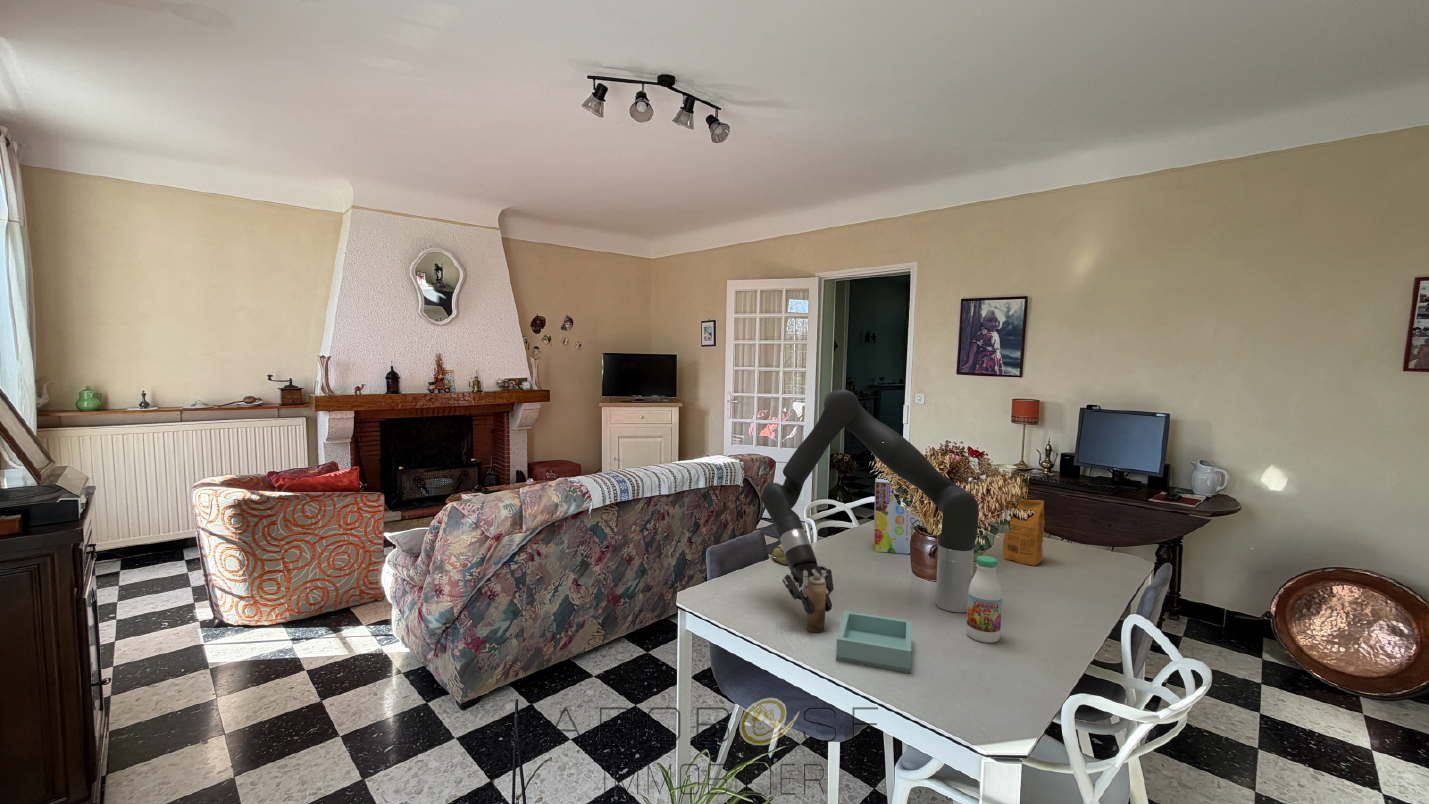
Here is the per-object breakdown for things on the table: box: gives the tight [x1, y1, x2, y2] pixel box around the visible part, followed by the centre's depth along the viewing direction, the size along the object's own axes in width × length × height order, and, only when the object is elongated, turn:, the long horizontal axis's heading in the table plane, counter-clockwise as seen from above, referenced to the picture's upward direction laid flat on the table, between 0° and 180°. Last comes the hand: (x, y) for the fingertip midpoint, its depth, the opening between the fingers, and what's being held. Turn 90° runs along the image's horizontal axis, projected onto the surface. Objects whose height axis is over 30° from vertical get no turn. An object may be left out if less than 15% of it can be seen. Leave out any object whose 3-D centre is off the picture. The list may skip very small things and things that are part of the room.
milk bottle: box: [965, 555, 1003, 644], centre depth 147 cm, size 8×8×20 cm
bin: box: [835, 610, 913, 674], centre depth 139 cm, size 16×16×5 cm
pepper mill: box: [805, 573, 826, 633], centre depth 149 cm, size 5×5×14 cm
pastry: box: [771, 544, 788, 566], centre depth 200 cm, size 14×12×8 cm
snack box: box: [873, 477, 922, 555], centre depth 212 cm, size 22×9×26 cm, turn 77°
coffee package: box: [1002, 498, 1046, 567], centre depth 205 cm, size 10×12×22 cm
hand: (820, 611), depth 148 cm, fingers closed on pepper mill, 4 cm apart
